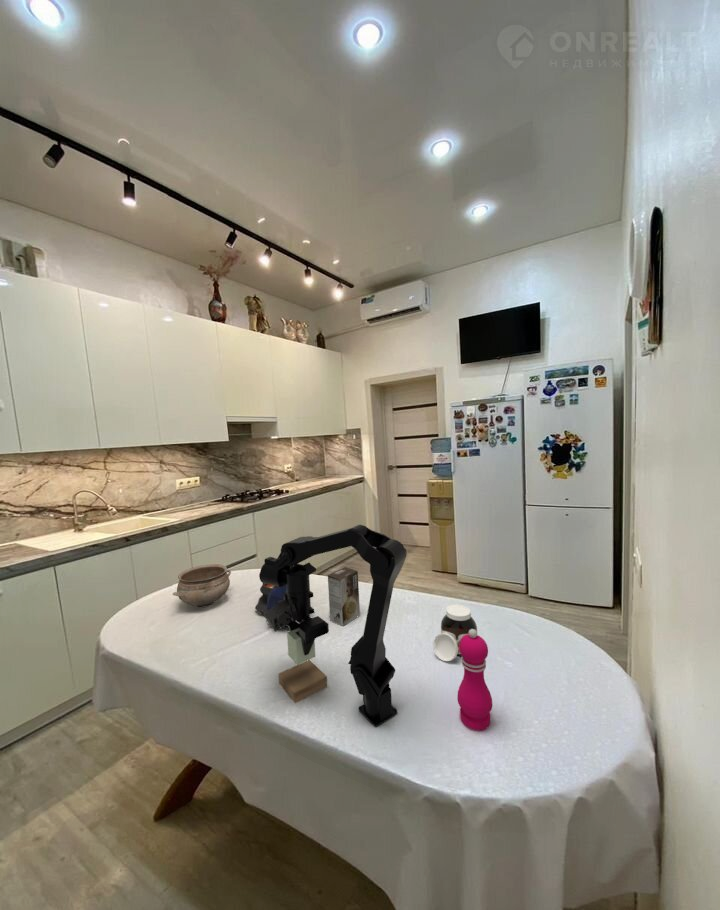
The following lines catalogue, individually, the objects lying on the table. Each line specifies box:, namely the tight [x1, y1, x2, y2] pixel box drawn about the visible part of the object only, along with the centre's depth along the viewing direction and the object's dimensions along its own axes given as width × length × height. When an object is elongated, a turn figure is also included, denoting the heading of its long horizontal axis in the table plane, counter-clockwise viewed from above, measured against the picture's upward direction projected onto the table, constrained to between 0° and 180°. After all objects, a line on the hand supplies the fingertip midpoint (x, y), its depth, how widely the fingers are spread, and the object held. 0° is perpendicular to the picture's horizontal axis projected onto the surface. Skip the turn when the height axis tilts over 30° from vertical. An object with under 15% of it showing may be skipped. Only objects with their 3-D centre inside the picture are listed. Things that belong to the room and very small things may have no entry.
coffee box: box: [327, 567, 361, 627], centre depth 123 cm, size 9×6×16 cm
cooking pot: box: [172, 563, 232, 608], centre depth 140 cm, size 25×19×12 cm
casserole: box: [254, 583, 274, 614], centre depth 138 cm, size 25×19×8 cm
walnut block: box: [278, 659, 328, 704], centre depth 91 cm, size 9×9×3 cm
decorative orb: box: [267, 585, 288, 627], centre depth 122 cm, size 14×15×15 cm
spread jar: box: [432, 604, 478, 662], centre depth 101 cm, size 12×11×12 cm
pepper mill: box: [456, 629, 493, 732], centre depth 77 cm, size 7×7×20 cm
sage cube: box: [286, 628, 316, 666], centre depth 90 cm, size 5×5×6 cm
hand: (301, 649), depth 91 cm, fingers closed on sage cube, 5 cm apart
